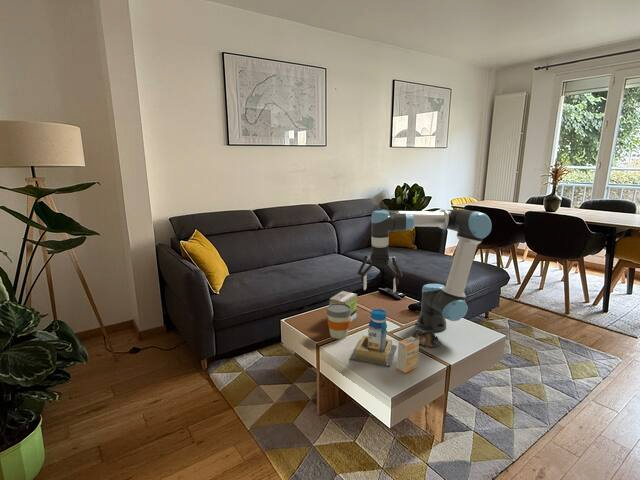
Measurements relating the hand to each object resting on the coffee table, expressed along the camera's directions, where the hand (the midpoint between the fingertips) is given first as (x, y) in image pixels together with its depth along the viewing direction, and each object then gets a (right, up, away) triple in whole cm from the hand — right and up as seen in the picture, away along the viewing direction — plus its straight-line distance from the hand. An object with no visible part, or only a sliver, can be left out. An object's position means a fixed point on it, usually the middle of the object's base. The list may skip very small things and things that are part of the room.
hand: (379, 290), depth 164 cm
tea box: (-14, -22, +37) cm, 46 cm away
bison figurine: (+24, -28, +9) cm, 38 cm away
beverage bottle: (-1, -29, +1) cm, 29 cm away
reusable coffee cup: (-18, -26, +20) cm, 37 cm away
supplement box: (+10, -32, -10) cm, 35 cm away
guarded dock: (-2, -30, +2) cm, 30 cm away
